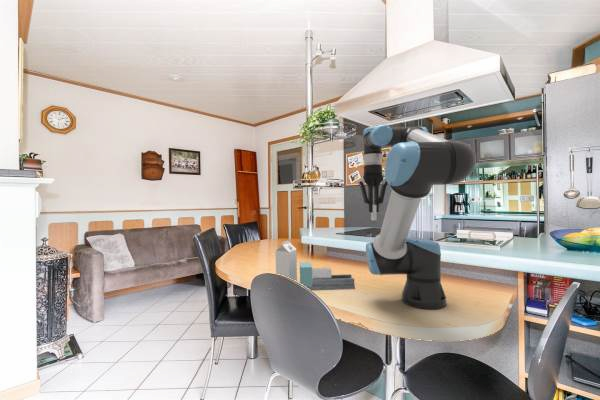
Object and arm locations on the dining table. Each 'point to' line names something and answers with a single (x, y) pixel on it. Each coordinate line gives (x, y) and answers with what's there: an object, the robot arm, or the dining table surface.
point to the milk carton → (286, 260)
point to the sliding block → (321, 273)
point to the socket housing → (306, 274)
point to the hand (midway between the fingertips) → (373, 220)
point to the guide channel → (334, 283)
